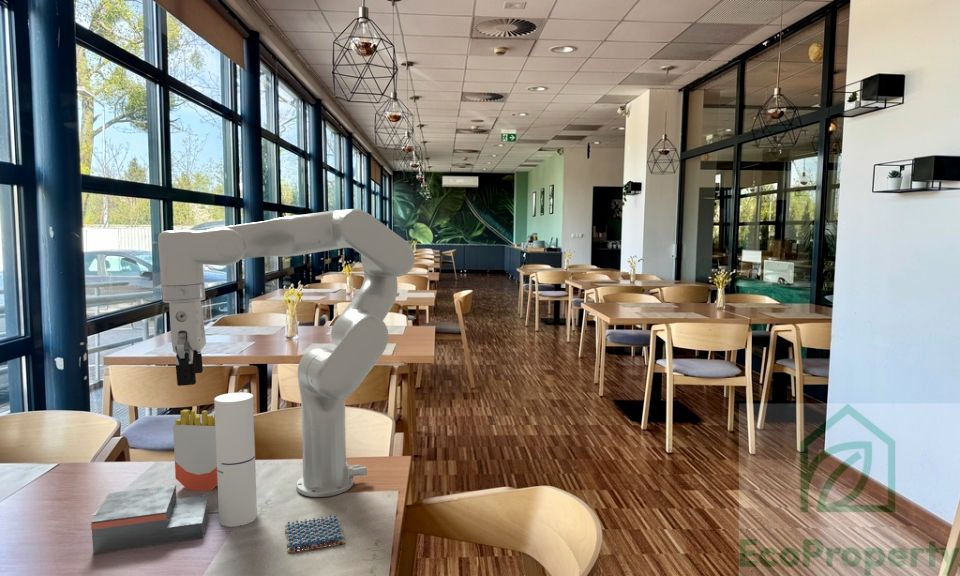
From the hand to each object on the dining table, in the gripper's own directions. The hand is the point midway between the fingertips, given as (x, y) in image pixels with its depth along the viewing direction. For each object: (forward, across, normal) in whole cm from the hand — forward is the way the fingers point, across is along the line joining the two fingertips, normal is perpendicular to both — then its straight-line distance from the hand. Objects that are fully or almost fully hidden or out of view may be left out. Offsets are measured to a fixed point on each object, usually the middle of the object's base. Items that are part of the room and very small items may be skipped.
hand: (190, 378), depth 122 cm
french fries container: (+29, +16, +2) cm, 33 cm away
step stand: (+28, -4, +8) cm, 30 cm away
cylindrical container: (+29, -3, -7) cm, 30 cm away
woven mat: (+30, -15, -22) cm, 40 cm away
